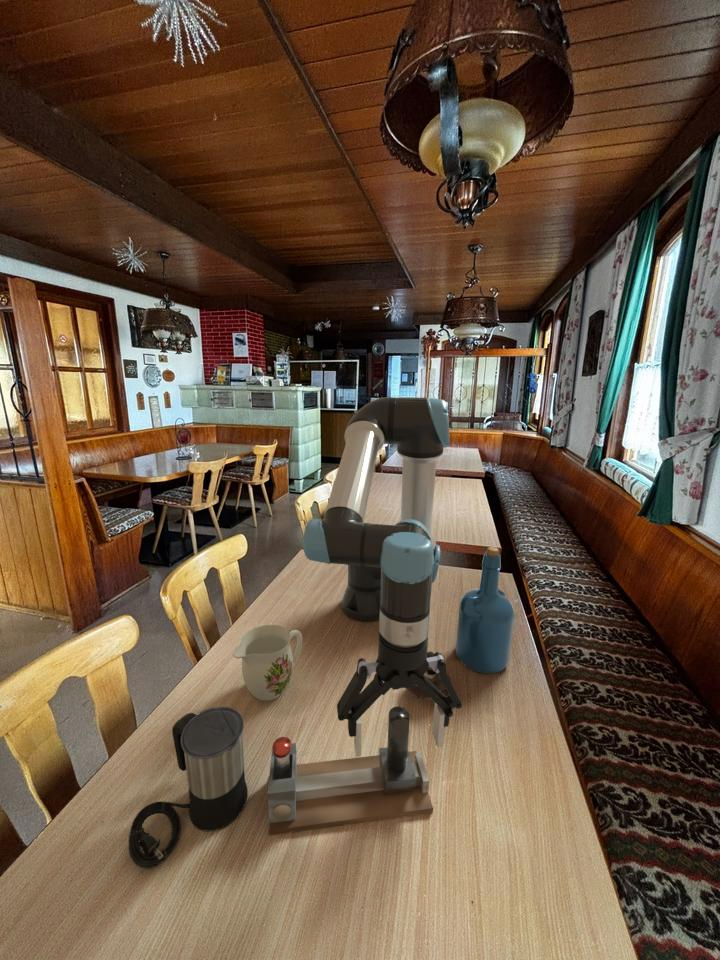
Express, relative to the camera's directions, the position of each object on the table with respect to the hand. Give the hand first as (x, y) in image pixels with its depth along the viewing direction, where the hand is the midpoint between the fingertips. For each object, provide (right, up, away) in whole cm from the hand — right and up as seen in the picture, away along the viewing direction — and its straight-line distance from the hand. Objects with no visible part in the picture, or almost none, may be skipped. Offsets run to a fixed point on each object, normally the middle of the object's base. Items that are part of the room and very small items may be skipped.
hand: (397, 744), depth 64 cm
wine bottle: (+25, -1, +34) cm, 42 cm away
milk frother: (-33, -10, -3) cm, 34 cm away
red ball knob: (-19, -3, -2) cm, 19 cm away
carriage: (0, -7, +2) cm, 8 cm away
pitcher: (-26, -3, +23) cm, 35 cm away
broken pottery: (+10, -4, +24) cm, 26 cm away
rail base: (-8, -9, +1) cm, 12 cm away
